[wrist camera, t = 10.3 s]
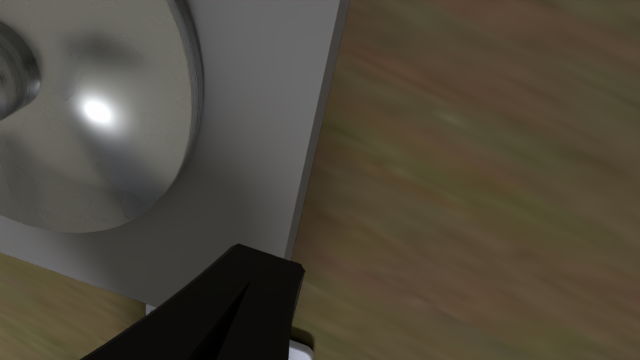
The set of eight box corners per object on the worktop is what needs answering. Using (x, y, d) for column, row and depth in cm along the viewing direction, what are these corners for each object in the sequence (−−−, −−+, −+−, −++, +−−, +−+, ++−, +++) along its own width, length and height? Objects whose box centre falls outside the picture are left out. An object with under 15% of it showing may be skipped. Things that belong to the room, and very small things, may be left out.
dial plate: (278, 314, 24) (263, 347, 23) (-117, 178, 27) (-155, 199, 25) (406, -248, 13) (395, -259, 12) (-292, -408, 15) (-380, -436, 14)
